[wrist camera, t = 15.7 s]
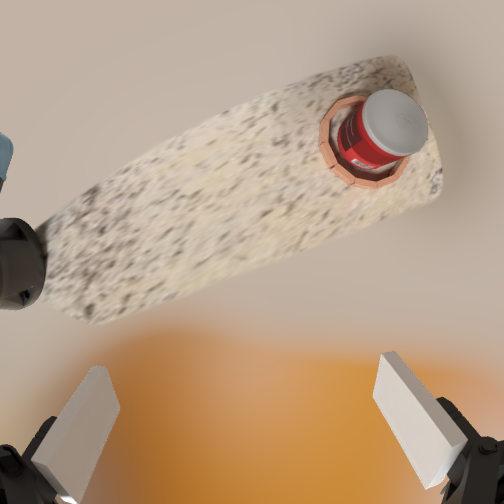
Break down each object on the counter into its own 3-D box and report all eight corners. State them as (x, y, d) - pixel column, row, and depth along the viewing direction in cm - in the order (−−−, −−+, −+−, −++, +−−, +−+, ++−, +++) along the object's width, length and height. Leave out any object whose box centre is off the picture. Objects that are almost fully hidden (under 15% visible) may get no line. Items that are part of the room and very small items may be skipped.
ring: (342, 201, 38) (347, 200, 36) (303, 115, 37) (306, 110, 35) (415, 171, 37) (422, 169, 35) (379, 92, 36) (384, 88, 34)
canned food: (396, 160, 37) (439, 144, 26) (350, 179, 38) (384, 165, 27) (373, 111, 37) (408, 82, 26) (325, 127, 37) (351, 96, 26)
